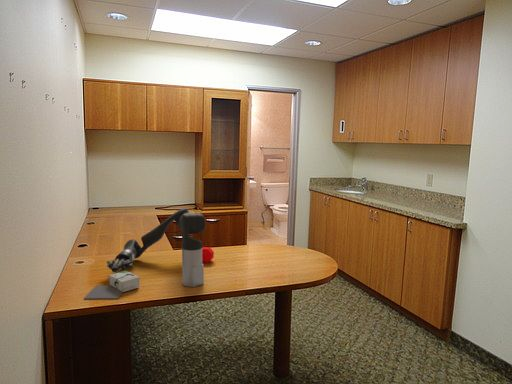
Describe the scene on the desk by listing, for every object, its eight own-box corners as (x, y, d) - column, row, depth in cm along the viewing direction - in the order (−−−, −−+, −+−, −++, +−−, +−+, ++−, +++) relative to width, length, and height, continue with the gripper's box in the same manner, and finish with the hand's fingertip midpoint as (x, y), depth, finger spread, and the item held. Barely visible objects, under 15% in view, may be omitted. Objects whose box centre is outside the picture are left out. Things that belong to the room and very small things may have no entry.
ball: (214, 259, 208) (214, 246, 207) (209, 264, 200) (209, 250, 199) (201, 258, 209) (201, 245, 208) (196, 263, 202) (196, 249, 201)
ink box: (126, 269, 174) (140, 276, 166) (126, 279, 174) (140, 287, 167) (108, 274, 167) (122, 282, 159) (109, 285, 168) (122, 292, 160)
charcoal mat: (127, 286, 168) (127, 285, 168) (117, 299, 155) (117, 297, 155) (96, 286, 167) (96, 285, 167) (83, 299, 154) (83, 298, 154)
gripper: (138, 265, 189) (128, 277, 171) (112, 265, 188) (99, 277, 171) (138, 251, 188) (128, 262, 170) (111, 251, 187) (99, 262, 170)
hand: (113, 270), depth 171 cm, fingers closed
